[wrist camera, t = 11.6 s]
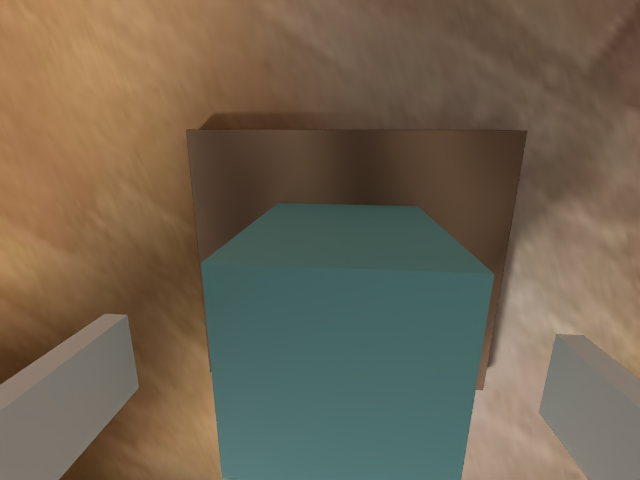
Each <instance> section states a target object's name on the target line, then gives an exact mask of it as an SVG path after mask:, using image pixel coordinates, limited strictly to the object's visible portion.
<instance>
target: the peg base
mask: <svg viewBox="0 0 640 480" xmlns="http://www.w3.org/2000/svg"><path fill="white" fill-rule="evenodd" d="M186 133H187V144H188V154H189V164H190V174H191V184H192V194H193V204H194V214H195V224H196V235H197V245H198V255H199V265H200V275H201V285H202V295H203V305H204V315H205V325H206V336H207V346H208V356H209V366H210V372H212V370H211V360H210V350H209V339H208V329H207V319H206V308H205V298H204V288H203V278H202V267H201V263H202V262H203V261H204V260H205V259H207V258H208V257H209V256H211V255H212V254H213V253H214V252H216V251H217V250H218V249H220V248H221V247H222V246H223V245H225V244H226V243H227V242H229V241H230V240H231V239H232V238H234V237H235V236H236V235H238V234H239V233H240V232H241V231H243V230H244V229H245V228H247V227H248V226H249V225H250V224H252V223H253V222H254V221H256V220H257V219H258V218H259V217H261V216H262V215H263V214H265V213H266V212H267V211H268V210H270V209H271V208H272V207H274V206H275V205H276V204H277V203H294V204H339V205H384V206H418V207H419V208H421V209H422V210H423V211H424V212H425V213H426V214H427V215H428V216H430V217H431V218H432V219H433V220H434V221H435V222H436V223H437V224H439V225H440V226H441V227H442V228H443V229H444V230H445V231H446V232H448V233H449V234H450V235H451V236H452V237H453V238H454V239H455V240H457V241H458V242H459V243H460V244H461V245H462V246H463V247H464V248H466V249H467V250H468V251H469V252H470V253H471V254H472V255H473V256H475V257H476V258H477V259H478V260H479V261H480V262H481V263H482V264H484V265H485V266H486V267H487V268H488V269H489V270H490V271H491V272H493V273H494V280H493V286H492V292H491V298H490V304H489V310H488V317H487V323H486V329H485V335H484V341H483V347H482V353H481V360H480V366H479V372H478V378H477V384H476V390H483V388H484V382H485V376H486V370H487V364H488V358H489V352H490V346H491V341H492V335H493V329H494V323H495V317H496V311H497V305H498V299H499V294H500V288H501V282H502V276H503V270H504V264H505V258H506V252H507V247H508V241H509V235H510V229H511V223H512V217H513V211H514V205H515V200H516V194H517V188H518V182H519V176H520V170H521V164H522V158H523V153H524V147H525V141H526V135H527V131H517V130H193V129H186Z"/></svg>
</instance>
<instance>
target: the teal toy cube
mask: <svg viewBox="0 0 640 480" xmlns="http://www.w3.org/2000/svg"><path fill="white" fill-rule="evenodd" d="M201 267H202V278H203V288H204V298H205V308H206V319H207V329H208V339H209V350H210V360H211V370H212V380H213V391H214V401H215V411H216V421H217V432H218V442H219V452H220V462H221V473H222V478H225V479H235V480H461V476H462V470H463V464H464V458H465V452H466V446H467V439H468V433H469V427H470V421H471V415H472V409H473V403H474V396H475V390H476V384H477V378H478V372H479V366H480V360H481V353H482V347H483V341H484V335H485V329H486V323H487V317H488V310H489V304H490V298H491V292H492V286H493V280H494V273H493V272H491V271H490V270H489V269H488V268H487V267H486V266H485V265H484V264H482V263H481V262H480V261H479V260H478V259H477V258H476V257H475V256H473V255H472V254H471V253H470V252H469V251H468V250H467V249H466V248H464V247H463V246H462V245H461V244H460V243H459V242H458V241H457V240H455V239H454V238H453V237H452V236H451V235H450V234H449V233H448V232H446V231H445V230H444V229H443V228H442V227H441V226H440V225H439V224H437V223H436V222H435V221H434V220H433V219H432V218H431V217H430V216H428V215H427V214H426V213H425V212H424V211H423V210H422V209H421V208H419V207H418V206H384V205H339V204H294V203H277V204H276V205H275V206H274V207H272V208H271V209H270V210H268V211H267V212H266V213H265V214H263V215H262V216H261V217H259V218H258V219H257V220H256V221H254V222H253V223H252V224H250V225H249V226H248V227H247V228H245V229H244V230H243V231H241V232H240V233H239V234H238V235H236V236H235V237H234V238H232V239H231V240H230V241H229V242H227V243H226V244H225V245H223V246H222V247H221V248H220V249H218V250H217V251H216V252H214V253H213V254H212V255H211V256H209V257H208V258H207V259H205V260H204V261H203V262H202V263H201Z"/></svg>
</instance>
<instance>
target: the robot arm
mask: <svg viewBox="0 0 640 480" xmlns="http://www.w3.org/2000/svg"><path fill="white" fill-rule="evenodd" d="M138 388H139V383H138V377H137V371H136V365H135V358H134V352H133V346H132V340H131V334H130V327H129V321H128V315H121V314H104V315H102V316H101V317H99V318H98V319H96V320H95V321H93V322H92V323H90V324H89V325H87V326H86V327H84V328H83V329H82V330H80V331H79V332H77V333H76V334H74V335H73V336H71V337H70V338H68V339H67V340H65V341H64V342H62V343H61V344H59V345H58V346H56V347H55V348H54V349H52V350H51V351H49V352H48V353H46V354H45V355H43V356H42V357H40V358H39V359H37V360H36V361H34V362H33V363H31V364H30V365H28V366H27V367H26V368H24V369H23V370H21V371H20V372H18V373H17V374H15V375H14V376H12V377H11V378H9V379H8V380H6V381H5V382H3V383H2V384H0V480H59V479H60V478H61V477H62V476H63V475H64V473H65V472H66V471H67V470H68V469H69V468H70V466H71V465H72V464H73V463H74V462H75V461H76V460H77V458H78V457H79V456H80V455H81V454H82V453H83V452H84V450H85V449H86V448H87V447H88V446H89V445H90V443H91V442H92V441H93V440H94V439H95V438H96V437H97V435H98V434H99V433H100V432H101V431H102V430H103V429H104V427H105V426H106V425H107V424H108V423H109V422H110V421H111V419H112V418H113V417H114V416H115V415H116V414H117V412H118V411H119V410H120V409H121V408H122V407H123V406H124V404H125V403H126V402H127V401H128V400H129V399H130V398H131V396H132V395H133V394H134V393H135V392H136V391H137V390H138ZM539 413H540V414H541V416H542V417H543V418H544V420H545V421H546V423H547V424H548V425H549V427H550V428H551V429H552V431H553V432H554V433H555V435H556V436H557V437H558V439H559V440H560V441H561V443H562V444H563V446H564V447H565V448H566V450H567V451H568V452H569V454H570V455H571V456H572V458H573V459H574V460H575V462H576V463H577V465H578V466H579V467H580V469H581V470H582V471H583V473H584V474H585V475H586V477H587V478H588V479H589V480H640V379H639V378H638V377H636V376H635V375H634V374H632V373H631V372H630V371H629V370H627V369H626V368H625V367H623V366H622V365H621V364H620V363H618V362H617V361H616V360H614V359H613V358H612V357H611V356H609V355H608V354H607V353H605V352H604V351H603V350H602V349H600V348H599V347H598V346H596V345H595V344H594V343H593V342H591V341H590V340H589V339H588V338H586V337H585V336H584V335H562V334H556V337H555V341H554V346H553V351H552V355H551V360H550V364H549V369H548V373H547V378H546V382H545V387H544V391H543V396H542V400H541V405H540V409H539Z"/></svg>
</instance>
